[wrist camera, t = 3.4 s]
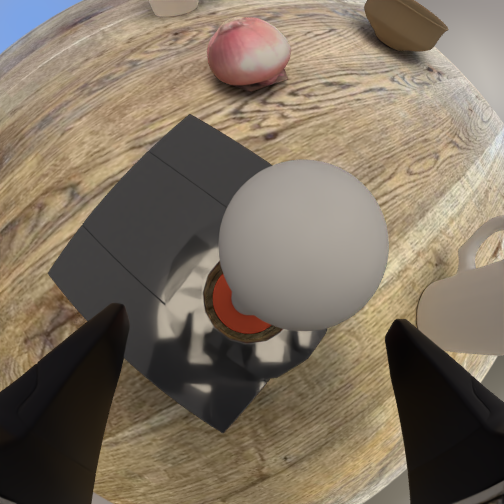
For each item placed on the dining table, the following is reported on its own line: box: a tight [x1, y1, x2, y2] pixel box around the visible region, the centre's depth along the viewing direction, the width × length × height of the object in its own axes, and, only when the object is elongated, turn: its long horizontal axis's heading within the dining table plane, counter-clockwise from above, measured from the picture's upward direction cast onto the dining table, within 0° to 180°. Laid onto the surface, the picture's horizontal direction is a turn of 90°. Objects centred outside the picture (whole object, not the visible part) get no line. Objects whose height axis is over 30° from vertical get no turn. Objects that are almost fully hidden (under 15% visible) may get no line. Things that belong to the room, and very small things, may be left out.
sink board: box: [48, 114, 327, 433], centre depth 17 cm, size 16×17×2 cm
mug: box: [417, 215, 504, 356], centre depth 14 cm, size 10×7×12 cm, turn 172°
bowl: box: [364, 0, 448, 51], centre depth 24 cm, size 13×13×10 cm
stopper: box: [213, 160, 389, 334], centre depth 11 cm, size 5×5×16 cm
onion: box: [207, 17, 291, 92], centre depth 20 cm, size 8×8×7 cm
